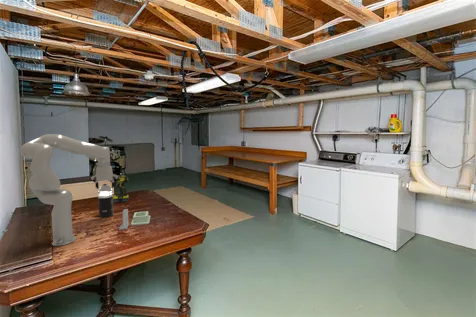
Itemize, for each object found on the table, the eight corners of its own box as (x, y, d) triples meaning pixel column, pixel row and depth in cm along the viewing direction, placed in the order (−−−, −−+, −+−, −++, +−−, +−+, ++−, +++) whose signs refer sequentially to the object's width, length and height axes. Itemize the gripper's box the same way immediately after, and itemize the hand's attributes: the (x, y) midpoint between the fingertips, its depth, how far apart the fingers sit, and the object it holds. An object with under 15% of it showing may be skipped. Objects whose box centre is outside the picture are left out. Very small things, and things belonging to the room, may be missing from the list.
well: (149, 223, 176) (148, 216, 176) (130, 225, 173) (130, 218, 173) (150, 216, 192) (150, 210, 191) (133, 217, 188) (133, 211, 188)
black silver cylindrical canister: (97, 218, 187) (95, 185, 184) (100, 213, 196) (99, 182, 194) (112, 217, 189) (110, 185, 187) (114, 212, 199) (113, 182, 197)
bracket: (127, 228, 167) (126, 211, 166) (119, 229, 166) (118, 212, 164) (128, 225, 173) (127, 208, 171) (120, 226, 171) (120, 209, 170)
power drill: (110, 201, 233) (109, 174, 230) (129, 199, 238) (128, 174, 235) (108, 203, 224) (107, 176, 221) (128, 202, 229) (127, 175, 226)
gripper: (88, 165, 168) (90, 190, 170) (117, 164, 174) (118, 188, 176) (91, 164, 175) (92, 187, 177) (118, 163, 181) (119, 186, 183)
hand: (105, 188), depth 176 cm, fingers open, 9 cm apart
